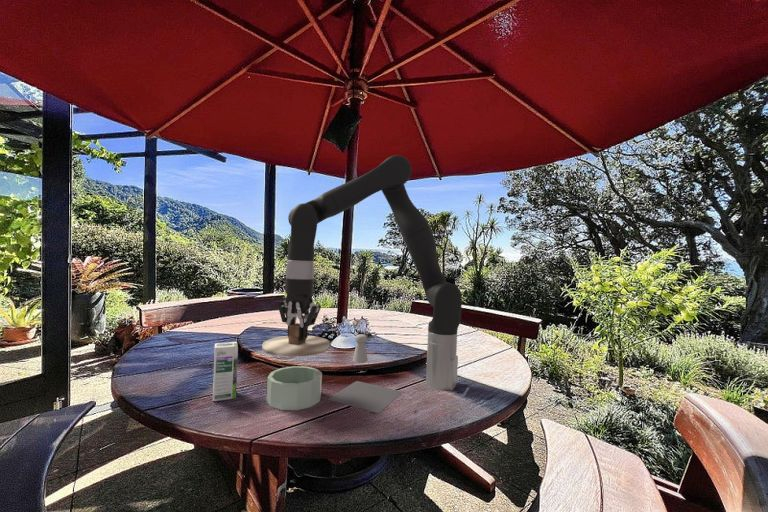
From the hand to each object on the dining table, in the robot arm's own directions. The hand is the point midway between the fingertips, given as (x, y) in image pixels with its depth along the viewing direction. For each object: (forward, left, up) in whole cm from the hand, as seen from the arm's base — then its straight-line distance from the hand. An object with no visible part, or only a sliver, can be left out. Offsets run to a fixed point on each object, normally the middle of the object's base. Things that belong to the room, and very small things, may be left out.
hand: (297, 339), depth 91 cm
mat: (-16, -12, -17) cm, 26 cm away
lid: (0, 0, -2) cm, 2 cm away
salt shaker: (-4, -29, -17) cm, 34 cm away
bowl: (0, 0, -17) cm, 17 cm away
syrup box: (+18, +8, -17) cm, 26 cm away
